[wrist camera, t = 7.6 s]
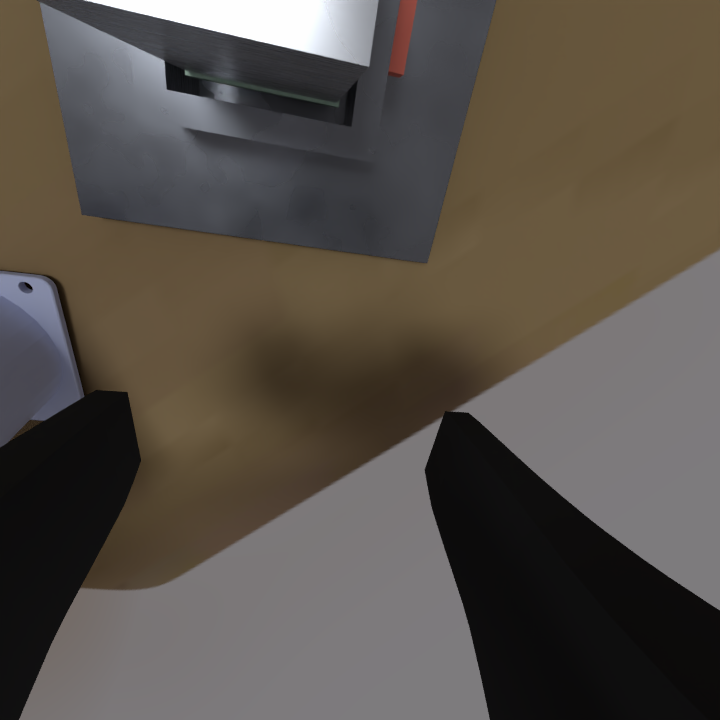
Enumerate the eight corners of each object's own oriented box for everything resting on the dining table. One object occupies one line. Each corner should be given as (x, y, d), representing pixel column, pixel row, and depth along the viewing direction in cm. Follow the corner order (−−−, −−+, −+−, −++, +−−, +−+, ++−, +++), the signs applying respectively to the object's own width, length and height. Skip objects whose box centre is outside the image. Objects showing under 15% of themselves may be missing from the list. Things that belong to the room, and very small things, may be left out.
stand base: (94, 210, 15) (12, 239, 11) (-27, -463, 8) (-381, -1081, 4) (421, 256, 18) (455, 295, 14) (543, -227, 11) (691, -455, 6)
